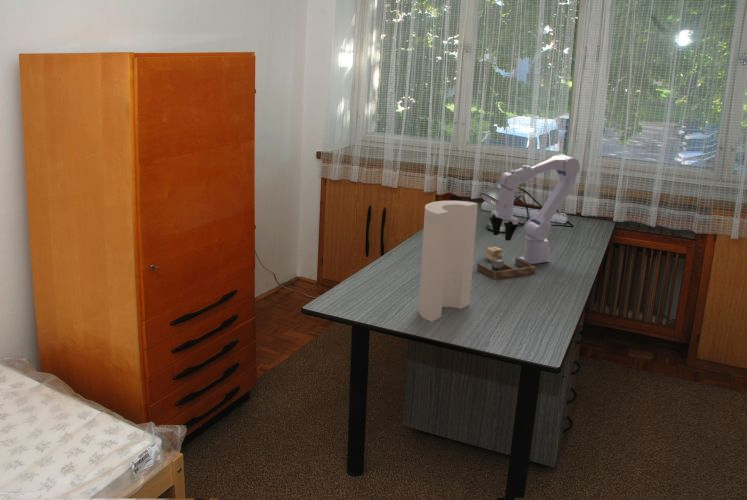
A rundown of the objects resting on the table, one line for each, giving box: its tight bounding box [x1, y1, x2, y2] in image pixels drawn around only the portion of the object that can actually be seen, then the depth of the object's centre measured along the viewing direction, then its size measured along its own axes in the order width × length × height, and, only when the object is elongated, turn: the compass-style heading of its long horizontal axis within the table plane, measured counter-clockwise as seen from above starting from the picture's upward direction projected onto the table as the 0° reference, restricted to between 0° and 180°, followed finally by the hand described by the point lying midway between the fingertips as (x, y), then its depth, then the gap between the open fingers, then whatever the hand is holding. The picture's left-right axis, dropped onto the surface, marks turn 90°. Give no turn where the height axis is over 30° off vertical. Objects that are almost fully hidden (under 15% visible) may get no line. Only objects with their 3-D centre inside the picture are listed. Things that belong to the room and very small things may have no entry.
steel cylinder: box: [490, 258, 504, 272], centre depth 279 cm, size 4×4×5 cm
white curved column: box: [418, 200, 478, 323], centre depth 237 cm, size 35×11×21 cm
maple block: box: [485, 246, 504, 262], centre depth 295 cm, size 4×4×4 cm
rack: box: [476, 257, 536, 280], centre depth 281 cm, size 19×11×2 cm, turn 117°
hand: (502, 237), depth 288 cm, fingers open, 7 cm apart
